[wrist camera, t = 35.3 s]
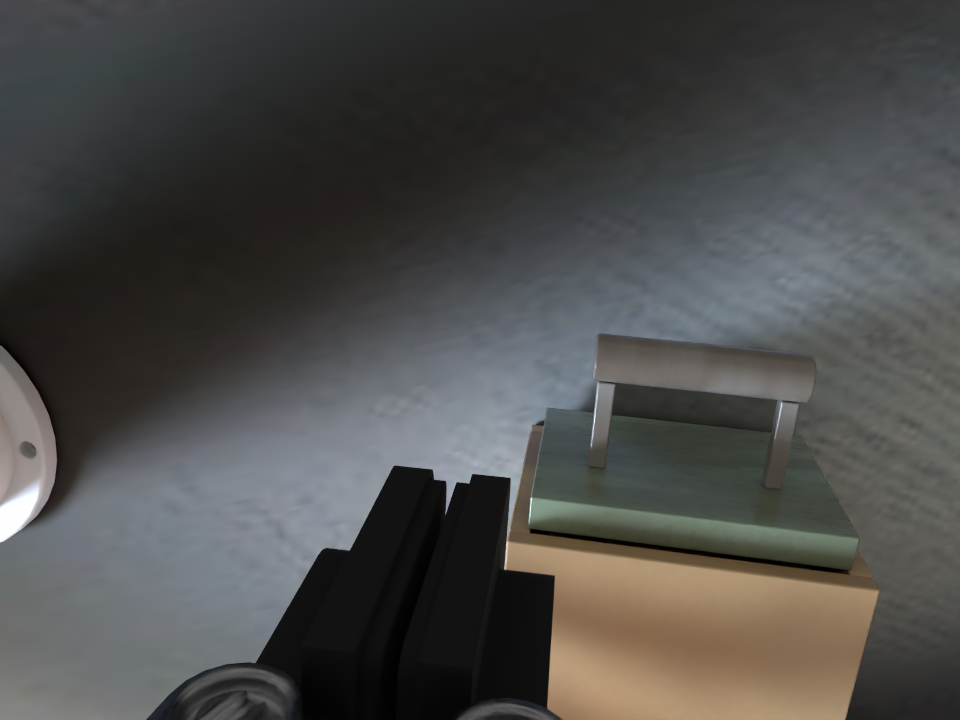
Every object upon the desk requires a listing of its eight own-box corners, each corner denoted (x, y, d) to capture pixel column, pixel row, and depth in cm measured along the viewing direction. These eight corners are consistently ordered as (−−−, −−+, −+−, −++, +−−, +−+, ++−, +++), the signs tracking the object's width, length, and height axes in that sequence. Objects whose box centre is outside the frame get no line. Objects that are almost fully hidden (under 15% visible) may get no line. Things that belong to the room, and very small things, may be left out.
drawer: (557, 295, 31) (543, 357, 24) (826, 320, 30) (897, 393, 23) (520, 686, 37) (500, 828, 30) (741, 720, 36) (774, 876, 29)
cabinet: (531, 423, 34) (506, 540, 25) (806, 455, 32) (881, 590, 24) (507, 707, 39) (478, 887, 30) (743, 745, 38) (785, 945, 29)
